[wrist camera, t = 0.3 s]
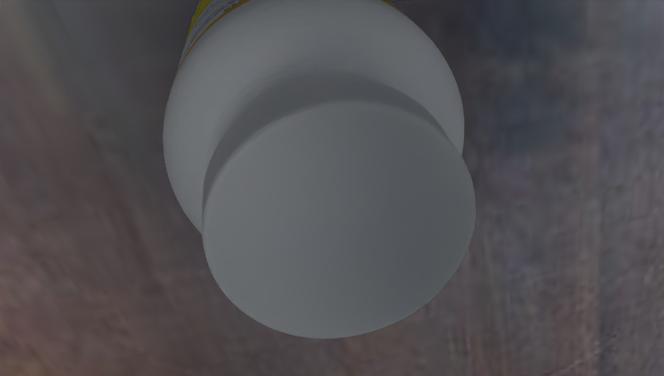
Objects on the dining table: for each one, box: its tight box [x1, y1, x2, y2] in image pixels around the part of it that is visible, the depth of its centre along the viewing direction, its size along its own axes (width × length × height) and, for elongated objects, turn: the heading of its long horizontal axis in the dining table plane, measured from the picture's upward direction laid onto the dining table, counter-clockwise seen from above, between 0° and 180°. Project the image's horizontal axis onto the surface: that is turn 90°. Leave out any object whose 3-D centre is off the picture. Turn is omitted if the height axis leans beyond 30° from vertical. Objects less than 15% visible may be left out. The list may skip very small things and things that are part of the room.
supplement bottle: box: [163, 0, 476, 339], centre depth 16 cm, size 7×7×13 cm
